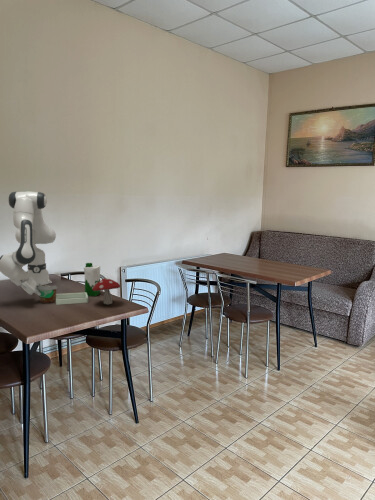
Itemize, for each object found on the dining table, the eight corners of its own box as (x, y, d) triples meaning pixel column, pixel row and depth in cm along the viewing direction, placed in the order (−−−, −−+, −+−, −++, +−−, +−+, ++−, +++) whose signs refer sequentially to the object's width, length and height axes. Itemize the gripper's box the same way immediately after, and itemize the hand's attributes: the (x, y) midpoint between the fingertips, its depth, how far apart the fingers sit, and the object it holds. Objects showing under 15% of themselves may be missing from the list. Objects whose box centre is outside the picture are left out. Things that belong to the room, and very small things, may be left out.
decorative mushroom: (88, 307, 216) (88, 281, 214) (97, 299, 232) (97, 275, 230) (116, 308, 215) (116, 282, 213) (123, 300, 231) (123, 276, 229)
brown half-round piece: (33, 302, 222) (32, 285, 221) (39, 299, 228) (39, 283, 227) (51, 304, 219) (51, 287, 218) (57, 301, 225) (57, 285, 223)
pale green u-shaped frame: (55, 298, 231) (55, 294, 231) (86, 296, 237) (86, 292, 237) (55, 304, 219) (55, 299, 219) (88, 302, 225) (88, 297, 225)
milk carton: (89, 292, 247) (88, 261, 244) (102, 293, 246) (101, 262, 243) (82, 295, 239) (82, 264, 236) (96, 297, 237) (95, 265, 234)
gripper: (24, 278, 208) (43, 294, 213) (26, 271, 227) (44, 286, 232) (15, 286, 207) (35, 303, 212) (18, 278, 227) (37, 293, 231)
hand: (40, 294), depth 222 cm, fingers closed
